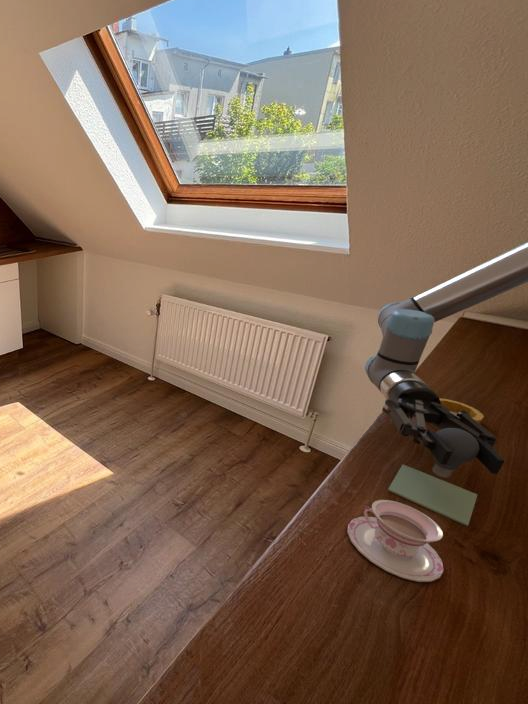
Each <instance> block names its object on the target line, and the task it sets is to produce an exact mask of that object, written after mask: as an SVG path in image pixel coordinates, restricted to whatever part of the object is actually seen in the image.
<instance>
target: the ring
mask: <svg viewBox="0 0 528 704" xmlns="http://www.w3.org/2000/svg"><path fill="white" fill-rule="evenodd" d="M439 399H440V402H441V404H442V405H443V406H445V407H447V408H448V409H449V410H450V411H452V412H456V413H458V412H460V411H461V410H464V411H467V412H469V414H470V416H471V417H472V418H473V419H474V420H475V421H477V422H478V423H479V424H480V425H481V424H482V422H483V420H484V417H485V415H484V414H483V413H482V412H481V411H480V410H478V409H477V408H475V407H473V406H470V405H468V404H466V403H463V402H460V401H457V400H452V399H447V398H442V397H439Z"/></svg>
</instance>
